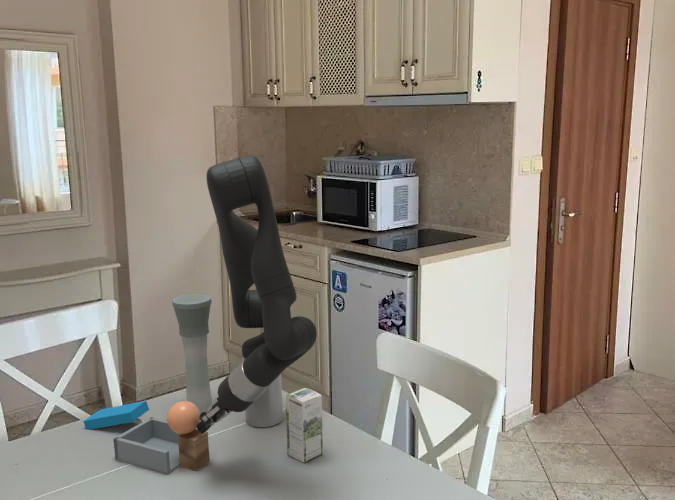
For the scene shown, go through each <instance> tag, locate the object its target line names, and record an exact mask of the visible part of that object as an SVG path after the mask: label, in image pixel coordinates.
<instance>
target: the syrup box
mask: <svg viewBox="0 0 675 500" xmlns="http://www.w3.org/2000/svg"><path fill="white" fill-rule="evenodd" d="M285 412H286V415H285V416H286V448H287V449H286V451H287V452H286V453H287V455H288V456H289V457H291V458H293V459H295V460H297V461H299V462H302V463H303V464H306V463H307V462H309V461H311V460H314V459H315V458H317V457H319V456H321V455H323V454H324V453H323V446H324V445H323V397H322V395H321V394H320V393H318V391H315V390H313V389H311V388H307V387H303V388H301V389H299V390H296V391H293V392H291V393H288V394H287V395H285Z"/></svg>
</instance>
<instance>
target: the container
mask: <svg viewBox="0 0 675 500" xmlns="http://www.w3.org/2000/svg"><path fill="white" fill-rule="evenodd" d="M171 302H172V307H173V309H174V313H175V316H176V320H177V323H178V331H179V336H180V337H181V341H182V346H183V351H184V352H183V353H184V358H185V359H184V360H185V384H186V385H185V386H186V389H185V390H186V393H185V394H186V401H188V402H191V403H193V404H194V405H196V406H197V408H198V409H199V412H200V414H201V413H202V412H205V411H207V409H208V408H209V407H210V406H211V405H212V402H213V399H212V390H211V384H210V382H211V381H210V376H209V374H210V373H209V365H208V364H209V363H208V335H209V333H210V329H209V317H210V311H211V306H212V304H213V303H212V302H213V301H212V296H211V295H208V294H202V293H194V294H193V293H190V294H183V295H179V296H177V297H175V298H173V299H172V301H171Z"/></svg>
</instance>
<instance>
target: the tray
mask: <svg viewBox="0 0 675 500" xmlns="http://www.w3.org/2000/svg"><path fill="white" fill-rule="evenodd" d="M196 429H197V428H196ZM180 435H181V434H178V433H175V432H174V431H173V430H172V429H171V428H170V427H169V425H168V422H167V419H166V420H165V419H162V418H161V419H160V418H157V417H153V416H150V417H149V418H148V419H145V420H144V422H142V423H140V424H137V425H135V426H134V427H133V426H132V427H131V428H130V429H128V430H126V431H125V432H123V433H121V434H119V435H117V436H115V437H114V438H113V439H112V441H113V448H114V459H115V461H120V462H123V463H126V464H130V465H133V466H136V467H140V468H143V469H147V470H150V471H154V472H156V473H157V472H158V473H161V474H164V475H169V474H171V473H173V471H175V470H176V469H177V468H179V467H180V457H179V445H178V436H180Z"/></svg>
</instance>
